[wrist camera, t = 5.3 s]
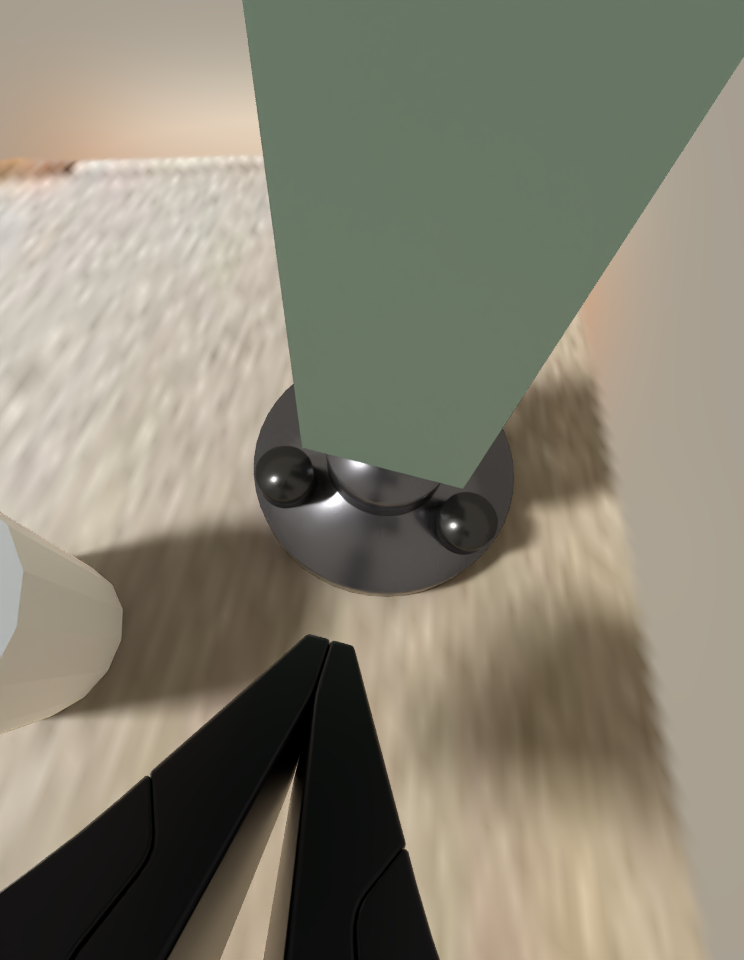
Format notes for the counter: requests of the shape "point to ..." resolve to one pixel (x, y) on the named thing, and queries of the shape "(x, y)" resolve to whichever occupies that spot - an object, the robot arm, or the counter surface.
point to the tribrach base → (374, 512)
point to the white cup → (50, 627)
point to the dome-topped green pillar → (460, 195)
